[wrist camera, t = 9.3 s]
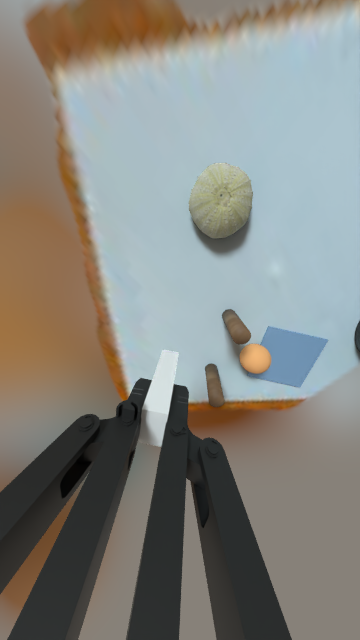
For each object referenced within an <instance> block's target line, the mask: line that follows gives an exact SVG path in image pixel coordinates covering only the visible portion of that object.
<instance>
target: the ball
mask: <svg viewBox="0 0 360 640" xmlns="http://www.w3.org/2000/svg"><path fill="white" fill-rule="evenodd" d="M240 362H241V365H242V366H243V368H244V369H246V370H247V371H248V372H251V373H254V374H259V373H263V372H265V371H266V370H268V368H269V367H270V365H271V355H270V353H269V351H268V350H267V349H266V348H265V347H263V346H262V345H259V344H249V345H247V346H245V347H244V348H243V349H242V351H241V353H240Z"/></svg>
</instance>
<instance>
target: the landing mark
mask: <svg viewBox="0 0 360 640" xmlns="http://www.w3.org/2000/svg"><path fill="white" fill-rule="evenodd" d="M327 342H328V340H327V339H322V338H318V337H314V336H309V335H305V334H300V333H296V332H291V331H287V330H282V329H278V328H273V327H269V326H268V328H267V331H266V333H265V335H264V337H263V340H262V342H261V344H260V345H262V346H263V347H265V348H266V349H267V350H268V351H269V353H270V355H271V365H270V367H269V368H268V370H266V371H265V372H263V373H259V374H254V373H251V372H248V374H247V376H250V377H255V378H259V379H264V380H268V381H273V382H277V383H282V384H287V385H291V386H296V387H301V385H302V383H303V382H304V380H305V378H306V377H307V375H308V373H309V372H310V370H311V368H312V367H313V365H314V363H315V362H316V360H317V358H318V357H319V355H320V353H321V352H322V350H323V348H324V347H325V345H326V343H327Z"/></svg>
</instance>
